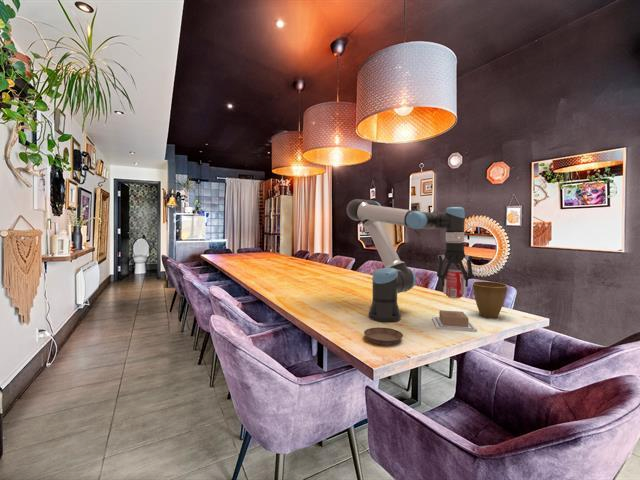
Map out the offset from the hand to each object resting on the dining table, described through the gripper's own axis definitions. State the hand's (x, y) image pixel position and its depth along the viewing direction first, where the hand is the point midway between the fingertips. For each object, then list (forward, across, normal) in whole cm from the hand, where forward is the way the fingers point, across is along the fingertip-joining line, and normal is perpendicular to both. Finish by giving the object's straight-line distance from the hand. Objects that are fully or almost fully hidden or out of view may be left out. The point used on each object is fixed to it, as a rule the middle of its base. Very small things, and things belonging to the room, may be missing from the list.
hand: (454, 293), depth 131 cm
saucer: (+15, -30, -25) cm, 42 cm away
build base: (+14, 0, 0) cm, 14 cm away
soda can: (+2, 0, 0) cm, 2 cm away
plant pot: (+14, +20, +19) cm, 31 cm away
